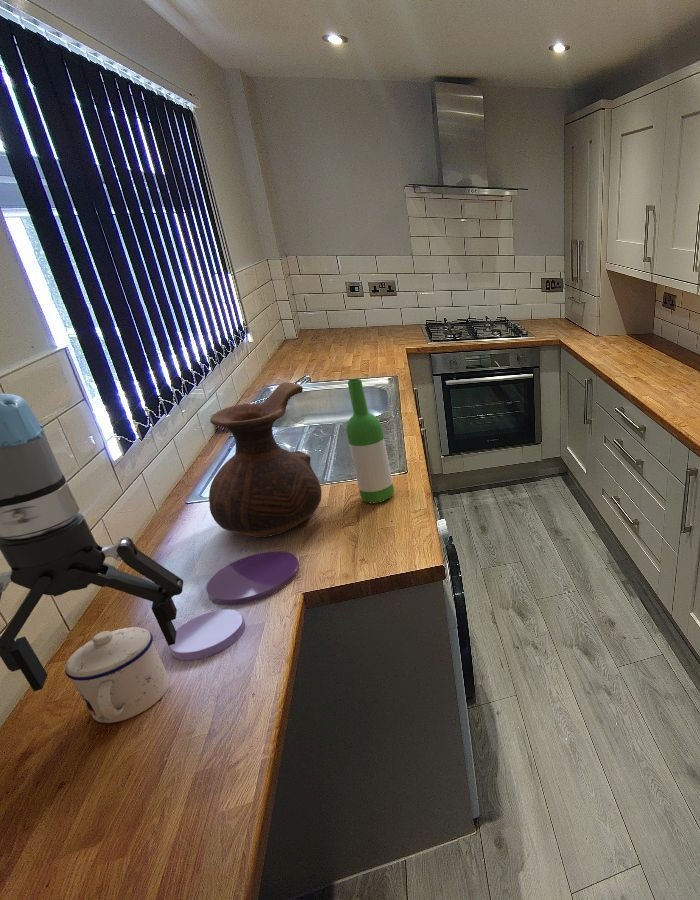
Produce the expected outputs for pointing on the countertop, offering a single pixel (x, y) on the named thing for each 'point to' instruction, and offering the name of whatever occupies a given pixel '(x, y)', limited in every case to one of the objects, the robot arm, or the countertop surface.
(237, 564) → the saucer
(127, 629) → the teacup with lid
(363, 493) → the wine bottle
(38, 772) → the countertop surface
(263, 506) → the jug
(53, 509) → the robot arm
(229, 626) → the lilac dish
